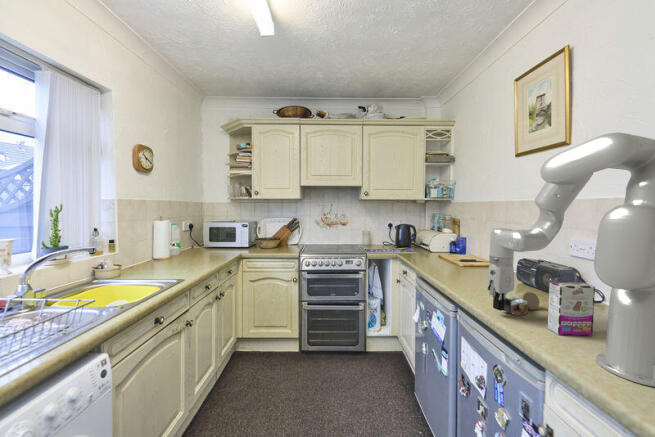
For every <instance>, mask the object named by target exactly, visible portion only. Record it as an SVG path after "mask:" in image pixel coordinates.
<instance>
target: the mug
mask: <svg viewBox="0 0 655 437" xmlns="http://www.w3.org/2000/svg"><path fill="white" fill-rule="evenodd" d="M513 296H514V297H518V298H521V299H524V300H527V304H528V311H529V310H532V311H533V310H535V309H537V308H538V307H539V306H540V300H539V299H540V298H539V296H538V295H537V294H536V293H535V292H532V291H522V292H520V293H515V294H513V295H512V296H511V298H512V297H513Z"/></svg>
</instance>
